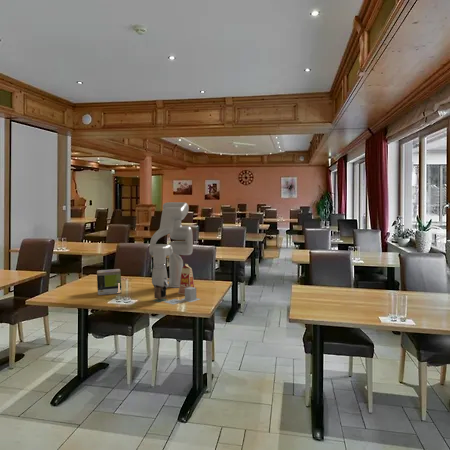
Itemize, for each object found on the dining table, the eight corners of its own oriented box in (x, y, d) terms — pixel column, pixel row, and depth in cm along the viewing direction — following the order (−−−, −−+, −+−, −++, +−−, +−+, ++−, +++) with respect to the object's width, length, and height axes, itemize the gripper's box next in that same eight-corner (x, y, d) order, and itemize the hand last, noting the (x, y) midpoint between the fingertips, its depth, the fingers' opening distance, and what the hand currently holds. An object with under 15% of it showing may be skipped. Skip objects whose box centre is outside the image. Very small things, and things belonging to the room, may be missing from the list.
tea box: (120, 290, 271) (120, 268, 269) (121, 293, 261) (121, 271, 260) (97, 291, 266) (96, 269, 265) (97, 295, 256) (96, 272, 255)
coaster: (152, 300, 243) (152, 300, 243) (161, 298, 248) (161, 297, 248) (159, 302, 238) (159, 302, 238) (168, 300, 244) (168, 299, 244)
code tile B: (180, 300, 244) (180, 299, 244) (190, 297, 251) (190, 296, 251) (190, 302, 238) (190, 302, 238) (201, 299, 245) (201, 299, 245)
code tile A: (163, 302, 239) (163, 301, 239) (174, 299, 246) (174, 298, 246) (173, 305, 233) (173, 304, 233) (184, 301, 240) (184, 301, 240)
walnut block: (154, 298, 243) (154, 286, 242) (160, 296, 247) (160, 285, 246) (159, 299, 240) (159, 287, 239) (166, 297, 243) (165, 286, 243)
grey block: (184, 299, 244) (184, 288, 244) (190, 297, 248) (190, 286, 248) (190, 300, 241) (190, 289, 241) (196, 299, 245) (196, 288, 244)
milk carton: (191, 295, 256) (191, 264, 254) (177, 294, 258) (177, 263, 256) (195, 291, 265) (195, 262, 263) (182, 291, 267) (181, 261, 265)
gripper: (146, 265, 245) (146, 294, 246) (164, 268, 233) (164, 299, 235) (155, 264, 250) (156, 292, 252) (173, 267, 239) (174, 297, 240)
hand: (160, 295), depth 243 cm, fingers closed on walnut block, 5 cm apart
